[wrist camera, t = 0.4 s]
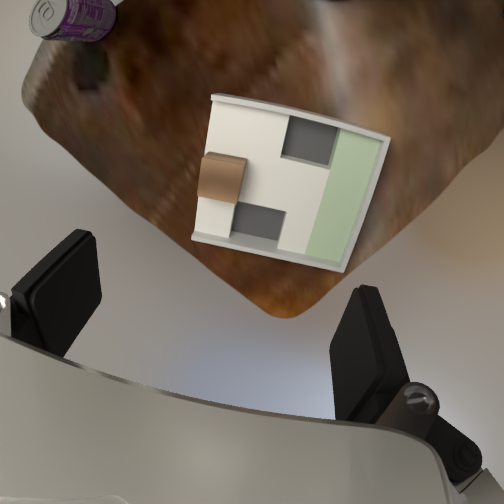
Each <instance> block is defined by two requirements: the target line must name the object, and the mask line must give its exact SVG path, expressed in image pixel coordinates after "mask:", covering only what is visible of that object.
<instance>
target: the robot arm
mask: <svg viewBox="0 0 504 504" xmlns="http://www.w3.org/2000/svg"><path fill="white" fill-rule="evenodd" d="M11 291H12V294H13V295H12V296H11V297H10V298H9V297H8V295H7V294H5V293H3V292H0V504H504V490H503V489H502V488H501V486H500V485H499V484H498V482H497V481H496V480H495V478H494V477H493V476H492V474H491V473H490V472H489V470H488V469H487V468H485V469H484V470H483V469H482V468H481V465H482V454H481V451H480V449H479V448H478V446H477V445H476V444H475V443H474V442H473V441H472V440H470V439H469V438H468V437H466V436H465V435H464V434H463V433H461V432H460V431H459V430H457V429H456V428H455V427H453V426H452V425H451V424H449V423H448V422H447V421H446V420H444V419H443V418H442V417H440V416H439V415H438V412H439V408H440V405H439V400H438V397H437V395H436V394H435V393H434V391H433V390H432V389H430V388H429V387H428V386H426V385H424V384H422V383H419V382H410V379H409V376H408V373H407V369H406V366H405V363H404V359H403V357H402V353H401V350H400V347H399V344H398V341H397V338H396V335H395V332H394V330H393V328H392V327H391V325H390V322H389V319H388V316H387V313H386V310H385V307H384V305H383V302H382V299H381V296H380V293H379V291H378V288H377V287H373V286H367V285H360V287H359V288H355V289H354V290H353V292H352V295H351V297H350V300H349V302H348V304H347V307H346V309H345V311H344V314H343V316H342V319H341V321H340V324H339V325H338V328H337V330H336V332H335V334H334V337H333V339H332V341H331V344H330V350H329V352H330V362H331V372H332V382H333V394H334V406H335V418H336V420H331V419H321V418H312V417H303V416H296V415H288V414H281V413H273V412H267V411H260V410H254V409H248V408H242V407H237V406H232V405H226V404H221V403H216V402H212V401H207V400H202V399H198V398H193V397H189V396H185V395H181V394H177V393H173V392H169V391H165V390H161V389H157V388H154V387H150V386H146V385H143V384H139V383H136V382H132V381H129V380H126V379H123V378H120V377H116V376H113V375H110V374H107V373H104V372H101V371H98V370H95V369H92V368H89V367H86V366H83V365H81V364H78V363H75V362H73V361H70V360H67V359H65V358H63V357H64V355H65V354H66V352H67V351H68V349H69V348H70V346H71V345H72V343H73V342H74V340H75V339H76V337H77V336H78V334H79V333H80V331H81V330H82V328H83V327H84V325H85V324H86V323H87V321H88V320H89V318H90V317H91V315H92V314H93V313H94V311H95V310H96V308H97V307H98V305H99V304H100V302H101V299H102V292H101V285H100V277H99V269H98V259H97V248H96V239H95V237H94V236H93V235H92V233H91V232H90V231H86V230H81V229H76V230H74V231H73V232H72V233H71V234H70V235H68V236H67V237H66V238H65V239H64V240H63V241H62V242H60V243H59V244H58V245H57V246H56V247H55V248H54V249H53V250H51V251H50V252H49V253H48V254H47V255H46V256H45V257H44V258H43V259H42V260H41V261H39V262H38V263H37V264H36V265H35V266H34V267H33V268H32V269H31V270H30V271H29V272H28V273H27V274H26V275H25V276H24V277H23V278H22V279H21V280H20V281H19V282H18V283H17V284H16V285H15V286H14V287H13V288H12V289H11Z"/></svg>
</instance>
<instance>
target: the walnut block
mask: <svg viewBox="0 0 504 504" xmlns="http://www.w3.org/2000/svg"><path fill="white" fill-rule="evenodd" d="M246 162H247V158H242V157H237V156H232V155H227V154H221V153H216V152H211V151H209V152H208V153H206V154H205V155H204V156H203V157H202V162H201V169H200V176H199V184H198V192H197V196H199V197H204V198H209V199H213V200H218V201H223V202H228V203H233V204H237V201H238V199H239V196H240V194H241V188H242V183H243V178H244V173H245V167H246Z"/></svg>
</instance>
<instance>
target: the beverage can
mask: <svg viewBox="0 0 504 504" xmlns="http://www.w3.org/2000/svg"><path fill="white" fill-rule="evenodd" d="M115 19H116V8H115V6H114V4H113V3H112V2H111V1H110V0H37V1H36V2H35V4H34V6H33V8H32V10H31V13H30V16H29V26H30V30H31V32H32V33H33V34H34V35H36V36H40V37H41V38H43V39H45V40H62V41H84V42H94V41H97V40H99V39H101V38H103V37H104V36H105V35H106V34H107V33H108V32H109V31H110V30H111V28H112V27H113V25H114V22H115Z"/></svg>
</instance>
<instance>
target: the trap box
mask: <svg viewBox="0 0 504 504" xmlns="http://www.w3.org/2000/svg"><path fill="white" fill-rule="evenodd" d="M211 100H213V104H212V110H211V116H210V122H209V129H208V135H207V141H206V148H205V154H206V153H208V152H209V151H211V152H216V153H221V154H227V155H232V156H237V157H242V158H247V162H246V167H245V173H244V178H243V183H242V188H241V194H240V196H239V199H238V201H237V204H233V203H228V202H223V201H218V200H213V199H209V198H204V197H199V198H198V206H197V214H196V222H195V231H194V232H193V234H192V238H191V240H195V241H199V242H204V243H208V244H213V245H218V246H222V247H227V248H231V249H236V250H241V251H245V252H250V253H254V254H259V255H263V256H268V257H273V258H277V259H282V260H286V261H291V262H296V263H300V264H305V265H309V266H314V267H319V268H323V269H328V270H332V271H337V272H342V273H344V271H345V268H346V266H347V263H348V261H349V258H350V255H351V253H352V250H353V248H354V245H355V243H356V240H357V237H358V235H359V232H360V229H361V227H362V224H363V221H364V218H365V216H366V213H367V210H368V207H369V204H370V201H371V198H372V196H373V193H374V190H375V187H376V184H377V181H378V178H379V175H380V172H381V168H382V165H383V162H384V159H385V156H386V153H387V149H388V146H389V143H390V139H391V138H390V137H389V136H387V135H386V134H384V133H382V132H379V131H376V130H373V129H370V128H367V127H364V126H361V125H357V124H354V123H351V122H347V121H344V120H341V119H337V118H333V117H330V116H326V115H322V114H318V113H315V112H311V111H307V110H302V109H298V108H294V107H290V106H285V105H281V104H276V103H271V102H266V101H261V100H256V99H251V98H245V97H240V96H234V95H228V94H221V93H216V94H212V95H211Z"/></svg>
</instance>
